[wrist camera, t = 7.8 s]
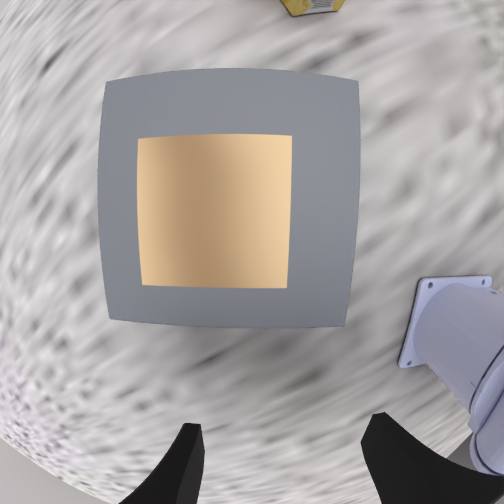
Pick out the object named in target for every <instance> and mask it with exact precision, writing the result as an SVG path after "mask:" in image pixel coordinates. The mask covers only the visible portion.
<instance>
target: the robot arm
mask: <svg viewBox="0 0 504 504" xmlns="http://www.w3.org/2000/svg"><path fill="white" fill-rule="evenodd" d="M491 282H492V277H491V276H489V275H483V276H461V277H436V278H423V279H421V280H420V282H419V285H418V290H417V295H416V299H415V304H414V308H413V313H412V317H411V321H410V324H409V328H408V332H407V336H406V339H405V343H404V346H403V349H402V353H401V356H400V359H399V362H398V366H399V367H400V368H408V367H413V366H418V365H423V364H427V365H428V366H429V367H430V368H431V369H432V370H433V372H434V373H435V374H436V375H437V376H438V377H439V378H440V379H441V381H442V382H443V383H444V384H445V385H446V386H447V387H448V388H449V390H450V391H451V392H452V393H453V394H454V395H455V396H456V398H457V399H458V400H459V401H460V402H461V403H462V405H463V406H464V407H465V408H466V409H467V411H468V412H469V413H470V414H471V418H470V420H469V422H468V424H467V425H468V426H469V427H470V428H471V430H472V431H473V432H474V434H473V437H472V439H471V443H470V455H471V458H472V461H473V464H474V466H475V467H476V468H477V470H478V471H479V472H478V471H474V470H471V469H468V468H466V467H463V466H461V465H458V464H456V463H454V462H451V461H449V460H448V459H446V458H444V457H442V456H440V455H439V454H437V453H435V452H434V451H432V450H431V449H430V448H428V447H427V446H425V445H424V444H422V443H421V442H420V441H418V440H417V439H416V438H415V437H413V436H412V435H411V434H410V433H409V432H407V431H406V430H405V429H404V428H403V427H401V426H400V425H399V424H398V423H397V422H396V421H395V420H393V419H392V418H391V417H390V416H389V415H388V414H387V413H385V412H383V413H378V414H373V415H372V418H371V420H370V422H369V425H368V427H367V429H366V431H365V434H364V436H363V438H362V440H361V446H362V451H363V455H364V459H365V462H366V464H367V467H368V469H369V472H370V474H371V477H372V479H373V482H374V484H375V486H376V489H377V491H378V494H379V497H380V500H381V503H382V504H494V503H495V502H496V501H498V500H499V499H500V498H501V497H502V496H503V495H504V294H502V293H500V292H498V291H496V290H494V289H492V288H490V287H491ZM429 283H430V286H429V287H428V285H429ZM204 455H205V450H204V443H203V437H202V431H201V424H193V423H184V424H183V426H182V428H181V430H180V432H179V434H178V435H177V437H176V439H175V440H174V442H173V444H172V445H171V447H170V448H169V450H168V451H167V453H166V454H165V456H164V457H163V458H162V460H161V461H160V463H159V464H158V465H157V466H156V468H155V469H154V470H153V471H152V472H151V474H150V475H149V476H148V477H147V478H146V479H145V480H144V481H143V482H142V483H141V485H140V486H138V487H137V488H136V489H135V490H134V491H133V492H132V493H131V494H130V495H129V496H127V497H126V498H125V499H124V500H123V501H121V502H120V503H119V504H197V499H198V495H199V490H200V485H201V480H202V475H203V468H204Z"/></svg>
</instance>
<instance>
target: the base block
mask: <svg viewBox="0 0 504 504" xmlns="http://www.w3.org/2000/svg"><path fill="white" fill-rule="evenodd" d="M200 134H265V135H286V136H292V170H291V208H290V234H289V256H288V275H287V288H215V287H179V286H154V285H142V277H141V266H140V253H139V238H138V215H137V155H138V139H142V138H152V137H164V136H179V135H200ZM359 189H360V105H359V87H358V81H355V80H350V79H345V78H339V77H334V76H327V75H321V74H313V73H305V72H296V71H286V70H273V69H251V68H216V69H194V70H181V71H171V72H162V73H154V74H147V75H140V76H134V77H128V78H123V79H118V80H113V81H108V82H106V86H105V92H104V99H103V107H102V116H101V126H100V138H99V155H98V221H99V238H100V250H101V261H102V270H103V278H104V286H105V293H106V299H107V306H108V311H109V317H110V319H113V320H122V321H132V322H142V323H153V324H165V325H180V326H197V327H220V328H317V327H340V326H344V325H345V319H346V313H347V307H348V301H349V294H350V287H351V280H352V272H353V264H354V255H355V245H356V234H357V222H358V208H359Z"/></svg>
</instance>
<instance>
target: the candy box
mask: <svg viewBox="0 0 504 504" xmlns="http://www.w3.org/2000/svg"><path fill="white" fill-rule="evenodd" d="M281 1H282V2H283V3H284V5H285V6H286V7H287V9H288V10H289V12H290V13H291V15H293V16H298V15H304V14H310V13H318V12H325V11H338V10H339V9H340V7H341V6H342V4H343V3H344V1H345V0H281Z"/></svg>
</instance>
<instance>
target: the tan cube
mask: <svg viewBox="0 0 504 504" xmlns="http://www.w3.org/2000/svg"><path fill="white" fill-rule="evenodd" d="M291 170H292V136H286V135H265V134H200V135H179V136H164V137H152V138H142V139H138V155H137V215H138V238H139V253H140V266H141V277H142V285H154V286H179V287H215V288H287V275H288V256H289V234H290V208H291Z"/></svg>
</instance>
